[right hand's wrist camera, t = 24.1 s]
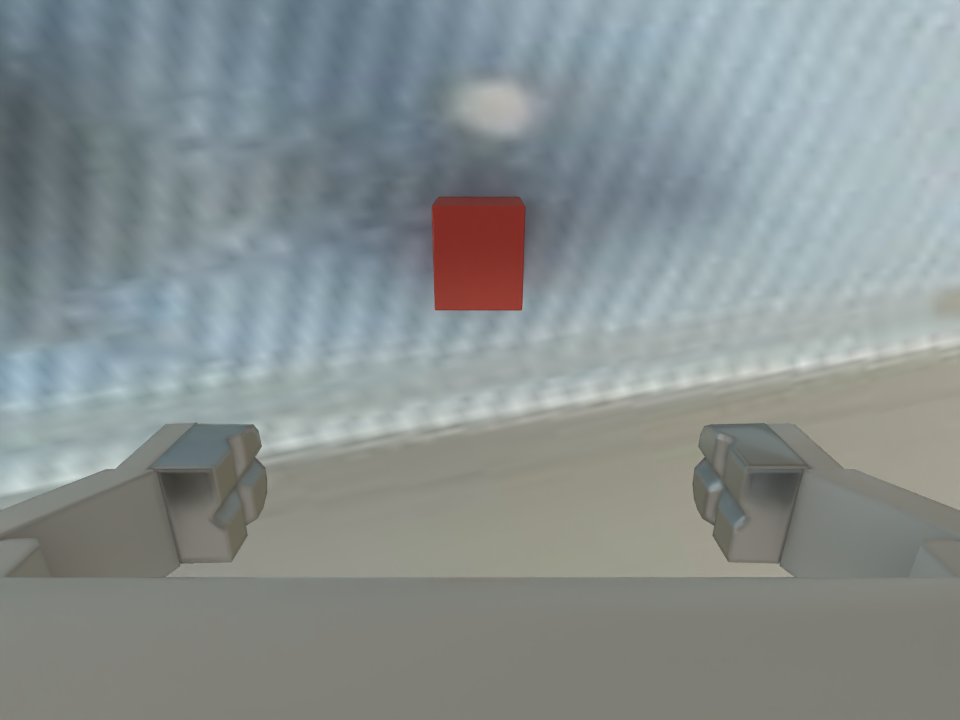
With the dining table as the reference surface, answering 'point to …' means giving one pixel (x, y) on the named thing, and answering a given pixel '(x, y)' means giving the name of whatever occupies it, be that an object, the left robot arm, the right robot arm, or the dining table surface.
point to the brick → (478, 253)
